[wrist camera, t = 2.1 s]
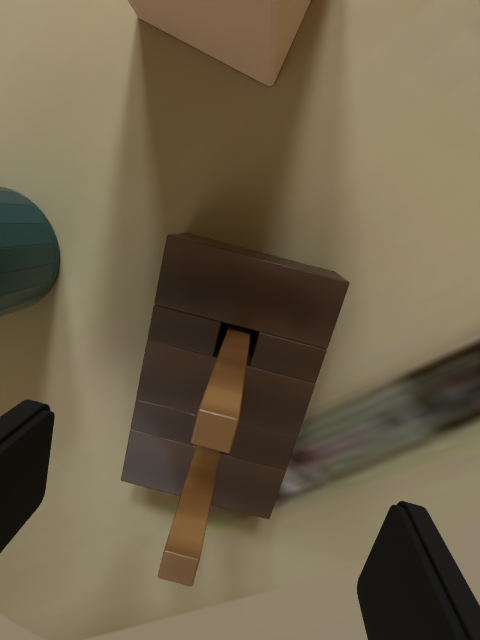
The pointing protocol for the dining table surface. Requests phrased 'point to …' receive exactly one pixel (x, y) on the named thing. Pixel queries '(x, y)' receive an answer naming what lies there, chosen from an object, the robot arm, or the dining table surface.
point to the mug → (25, 252)
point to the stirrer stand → (200, 357)
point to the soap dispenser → (231, 29)
